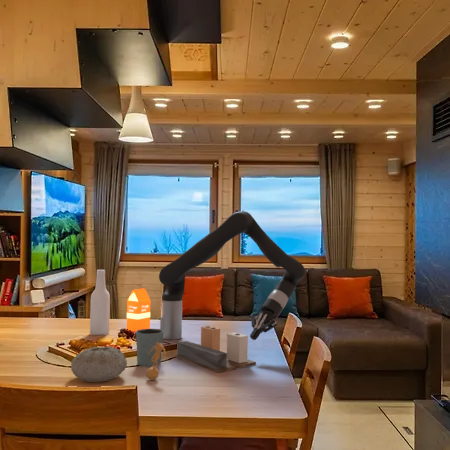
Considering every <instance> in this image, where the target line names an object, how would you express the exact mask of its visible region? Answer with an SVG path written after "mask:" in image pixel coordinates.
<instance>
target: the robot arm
mask: <svg viewBox="0 0 450 450" xmlns="http://www.w3.org/2000/svg"><path fill="white" fill-rule="evenodd" d="M241 234H245V235H246V236H248V237H249V238H250V239H251V240H253V242H254V243H255V244H256V245H257V247H258V248H259V250H260V252H261V253H262V254H263V255H264V257H265V258H266V259H267V260H268V261H269V262H271V264H273V266H275V268H279V269H280V268H282V269H283V270H285V272H284V274H283V275H282V277H281V279H280V280H279V282H278V283H277V284H276V285H275V287H274V289H273V290H272V291H271V292H270V294H269V295H268V297H267V298H266V300H265V301H264V303H263V304H262V306H261V310H260V311H259V313H258V314H257V315H251V319H250V320H251V327H252V328H253V330H252V331H251V333H250V335H249V337H250V339H251V340H253V341H256V340H257V339H258V338H259V336H260V335H261V334H262V333H267V332H269V331H270V330H272V329H274V328H275V327H277V326H278V322H277V321H276V319H277V318H279V316H280V315H281V313H282V312H283V310H284V309H285V307H286V305H287V303H288V301H289V299H290V298H291V296H292V294H294V290H295V289H296V287H297V285H298V284H299V283H300V281H302V279H303V278H304V276H305V275H306V269H305V266H304V265H303V263H301V261H299V260H297V259H296V258H294V257H293V256H291V255H289V254H287V253H286V252H285V251H284V250H283V249H282V248H281V247H280V246H279V245H278V244H277V243H276V242H275V241H274V240H273V239H271V238H270V236H269V235H268V234H267V233H266V232H265V231H264V230H263V229H262V228H261V226H260V225H259V223H258V222H257V221H256V219H255V218H254V217H253V216H252V214H251V213H249V212H248V211H244V210H242V211H241V210H240V211H235V212H233V213H232V214H231V215H230V216H229V217H227V218H226V220H224V221H223V223H221V224H220V225H219V226H218V227H217V228H216V229H214V230H212V231H211V232H210V233H207V234H206V235H205V236H204V237H202V238H201V239H200V240H198V241H197V242H196V243H194V244H193V245H192V246H191V247H189V249H187V250H186V251H185V252H183V253H182V254H181V255H180V256H179V257H178V258H176V259H175V260H173V261H172V262H170V263H167V264H166V265H165V266H163V267H162V268H161V270H160V271H159V273H158V279H159V281H160V283H161V284H162V285H164V286H166V289H165V291H164V292H163V293H162V295H161V304H162V317H161V316H160V319H159V320H160V321H159V323H160V324H159V325H160V326H159V328H160V330H163V340H170V341H171V340H180V339H181V338H182V335H183V331H182V330H183V329H182V328H183V296H184V293H185V284H186V273H187V272H188V271H190V270H192V269H194V268H197V267H199V266H201V265H203V264H204V263H206V262H208V261H209V260H211V259H212V258H213V257H214V256H215V255H217V254H218V253H219V252H220V251H221V249H222V248H223V247H224V246H225V245H226V243H227V242H229V241H230V240H232V239H234V238H235V237H236V236H238V235H241Z"/></svg>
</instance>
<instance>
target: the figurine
mask: <svg viewBox="0 0 450 450" xmlns="http://www.w3.org/2000/svg"><path fill="white" fill-rule="evenodd" d="M154 348H156V353H154V356H153V357H152V358H151V360H152V362H153V363H154V364H153V365H152V367H148V369H147V371H146V374H145V375H146V378H147V379H148V380H149V381H155V380H157V379H158V377H159V370H158V369H157V367H158V366H159V365H158V362H157V360H158V359H159V357H160V352H161V353H162V351H163V356H162V358H161V361H165V359H166V352H167V351H166V349H165V347H164V344H163V343H162V344H160V343H158V342H157V343H156V346H154V347H153V348H152V349H151V350H150V352H151V351H152V350H153V349H154ZM150 352H149V353H150ZM148 355H149V354H148ZM154 359H155V361H154ZM155 362H156V366H154V365H155ZM157 365H158V366H157Z"/></svg>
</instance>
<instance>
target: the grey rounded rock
mask: <svg viewBox="0 0 450 450" xmlns="http://www.w3.org/2000/svg"><path fill="white" fill-rule="evenodd" d="M127 361H128V360H127V358H126V356H125V355H124V353H123V352H122V350H121V349H119V348H116V346H115V347H112V346H93V347H89V348H86V349H84V350H82V351H81V352H79V353H78V354H76V355H75V357H74V358H73V359H72V360H71V365H70V369H71V372H72V374H74V376H75V377H76V378H78V379H79V380H81V381H83V382H87V383H95V382H100V383H101V382H106V381H110V380H113V379H115V378H117V377H118V376H120V375H121V374H122V373H123V372H124V371H125V370H126V368H127V367H128V362H127Z"/></svg>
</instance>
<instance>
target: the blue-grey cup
mask: <svg viewBox="0 0 450 450" xmlns="http://www.w3.org/2000/svg"><path fill="white" fill-rule="evenodd" d="M135 339H136V353H137V355H136V361H137V365H138V366H140V367H144V368H145V367H146V368H150V367H152V365H153V364H154V363H153V362H152V360H151V358H152V357H153V356H154V353H156V348H154V349H153V350H152V351H151V352H150V350H151V349H152V348H153V347H154V346H156V343H157V342H158V343H160V344H163V340H164V339H163V330H160V329H159V328H150V329H140V330H137V331H136V332H135ZM149 352H150V353H149ZM148 354H149V355H148ZM154 361H155V359H154ZM157 362H158V365H157V367H158V366H160V365H161V363H162V351H161V352H160V357H159V359H158V360H157ZM155 366H156V362H155V365H154V367H155Z"/></svg>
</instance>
